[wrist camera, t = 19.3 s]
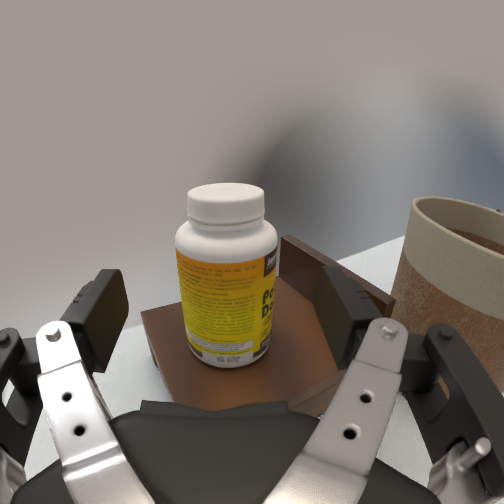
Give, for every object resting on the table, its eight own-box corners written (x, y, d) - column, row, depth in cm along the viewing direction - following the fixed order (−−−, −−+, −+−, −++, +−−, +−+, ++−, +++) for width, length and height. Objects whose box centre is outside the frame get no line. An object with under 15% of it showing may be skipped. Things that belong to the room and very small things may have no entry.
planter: (453, 303, 30) (483, 202, 24) (524, 383, 16) (586, 264, 10) (352, 319, 29) (377, 190, 23) (419, 443, 15) (520, 283, 9)
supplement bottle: (273, 372, 16) (286, 206, 12) (182, 370, 16) (157, 205, 12) (268, 317, 21) (275, 180, 17) (194, 315, 21) (184, 180, 17)
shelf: (201, 469, 14) (176, 393, 10) (151, 355, 24) (130, 267, 20) (362, 388, 20) (397, 299, 17) (283, 314, 30) (290, 234, 26)
